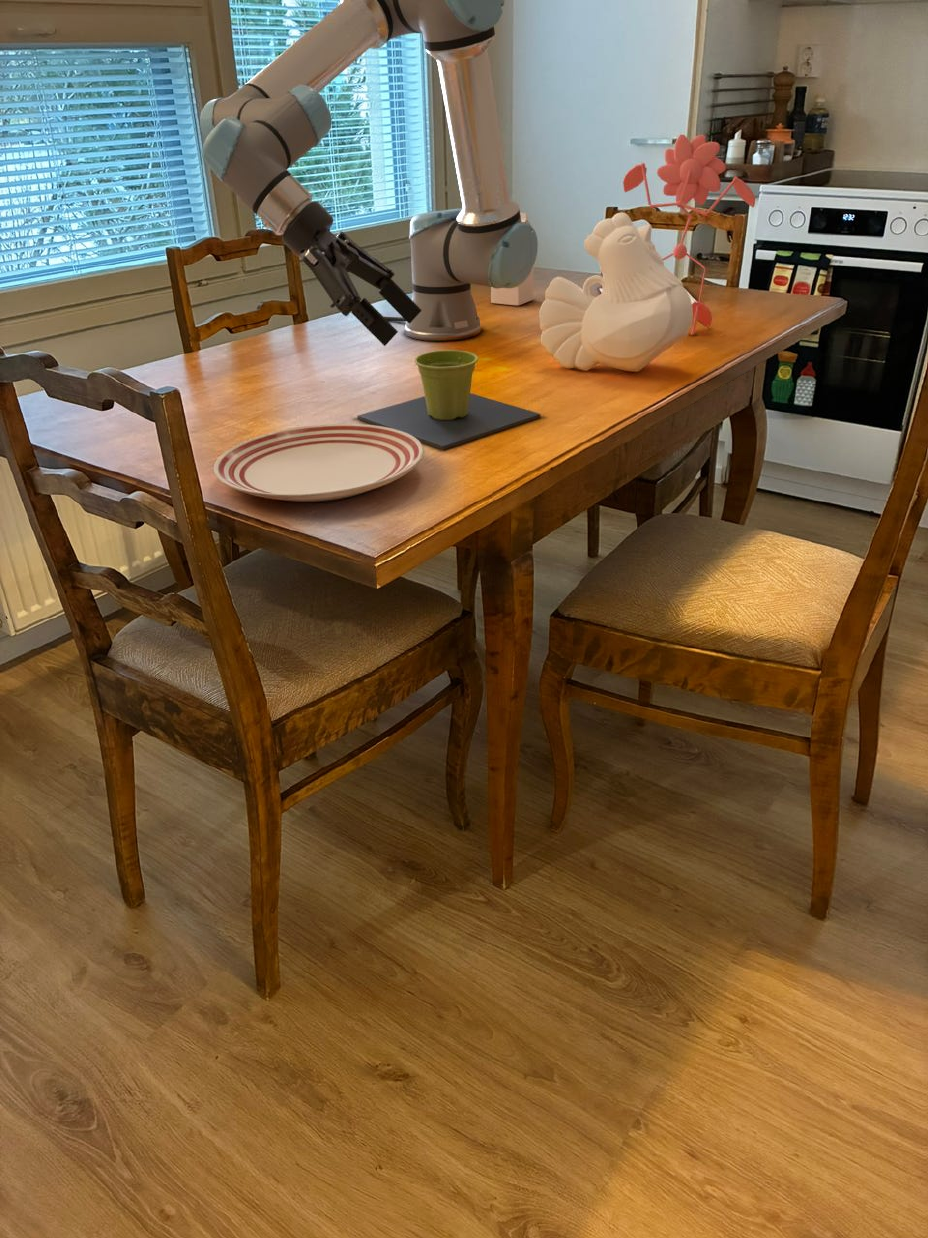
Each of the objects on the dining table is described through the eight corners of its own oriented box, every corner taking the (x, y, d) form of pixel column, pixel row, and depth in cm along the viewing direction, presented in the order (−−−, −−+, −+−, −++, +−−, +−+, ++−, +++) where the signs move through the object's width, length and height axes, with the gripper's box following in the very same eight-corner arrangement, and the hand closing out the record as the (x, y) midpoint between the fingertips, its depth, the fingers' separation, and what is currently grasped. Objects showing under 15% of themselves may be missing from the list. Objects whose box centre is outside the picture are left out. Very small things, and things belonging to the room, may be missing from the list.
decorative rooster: (717, 327, 166) (649, 200, 166) (690, 330, 153) (616, 192, 152) (600, 402, 180) (537, 285, 180) (566, 410, 167) (498, 284, 167)
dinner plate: (171, 492, 124) (166, 468, 122) (307, 431, 144) (305, 409, 142) (339, 536, 111) (336, 509, 110) (463, 461, 131) (462, 438, 130)
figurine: (734, 340, 185) (758, 137, 167) (606, 329, 195) (616, 136, 177) (750, 322, 197) (774, 131, 179) (629, 313, 207) (640, 131, 189)
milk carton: (518, 306, 215) (518, 215, 206) (491, 303, 218) (490, 213, 209) (533, 300, 220) (534, 211, 211) (506, 297, 224) (506, 209, 214)
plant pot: (472, 425, 143) (471, 367, 138) (410, 423, 144) (407, 365, 140) (483, 406, 150) (483, 350, 146) (425, 404, 152) (422, 349, 148)
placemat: (357, 419, 148) (357, 415, 148) (453, 391, 160) (453, 387, 160) (442, 450, 135) (442, 446, 135) (540, 417, 147) (540, 413, 147)
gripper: (311, 225, 150) (409, 325, 155) (247, 252, 129) (363, 367, 134) (340, 188, 146) (440, 291, 151) (279, 210, 125) (397, 329, 130)
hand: (404, 327), depth 142 cm, fingers open, 13 cm apart
